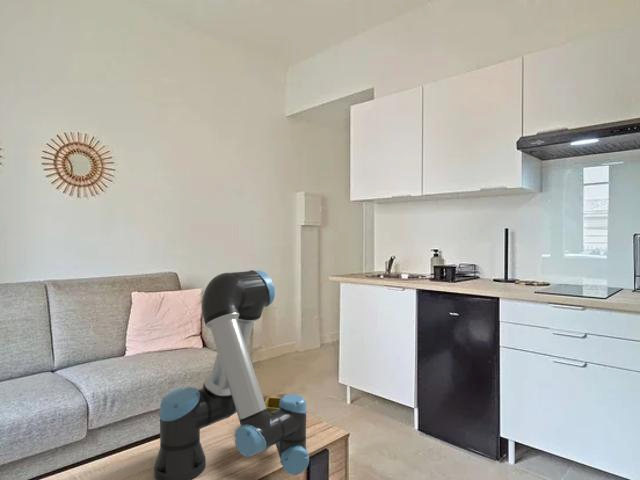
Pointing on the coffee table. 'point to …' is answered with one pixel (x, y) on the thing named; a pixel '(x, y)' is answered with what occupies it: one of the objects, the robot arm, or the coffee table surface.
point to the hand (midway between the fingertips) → (275, 406)
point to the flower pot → (272, 404)
